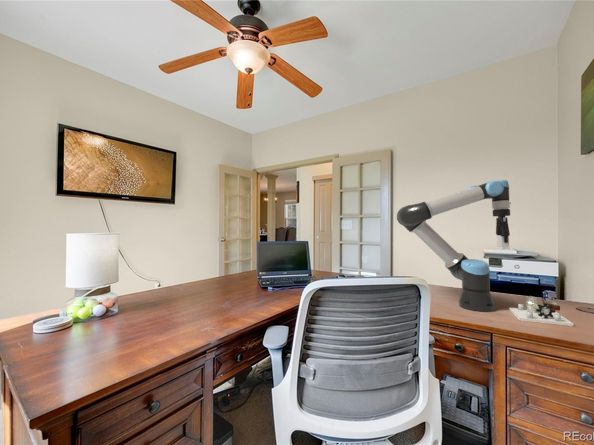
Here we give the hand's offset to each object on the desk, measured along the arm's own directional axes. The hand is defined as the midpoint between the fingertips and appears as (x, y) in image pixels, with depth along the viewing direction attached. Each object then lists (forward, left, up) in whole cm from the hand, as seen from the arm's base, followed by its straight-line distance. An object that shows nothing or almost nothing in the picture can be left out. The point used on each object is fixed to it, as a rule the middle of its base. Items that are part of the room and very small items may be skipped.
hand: (503, 248), depth 141 cm
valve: (+7, -24, -28) cm, 37 cm away
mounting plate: (+7, -24, -29) cm, 38 cm away
